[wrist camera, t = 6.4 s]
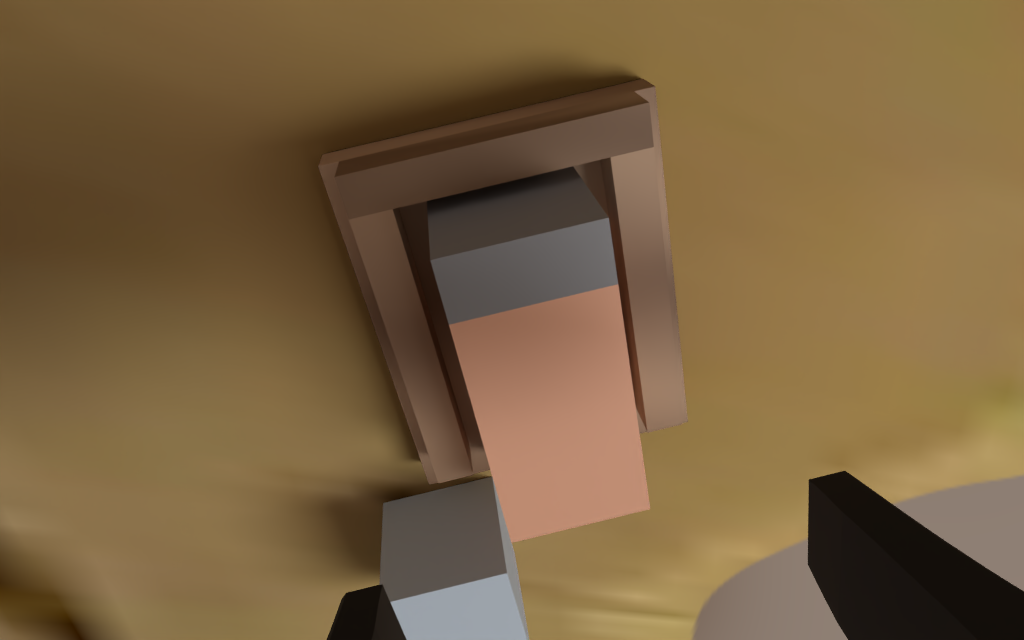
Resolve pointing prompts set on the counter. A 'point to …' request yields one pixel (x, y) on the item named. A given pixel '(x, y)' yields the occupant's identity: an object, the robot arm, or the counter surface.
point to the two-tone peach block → (542, 348)
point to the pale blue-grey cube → (452, 565)
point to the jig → (485, 162)
